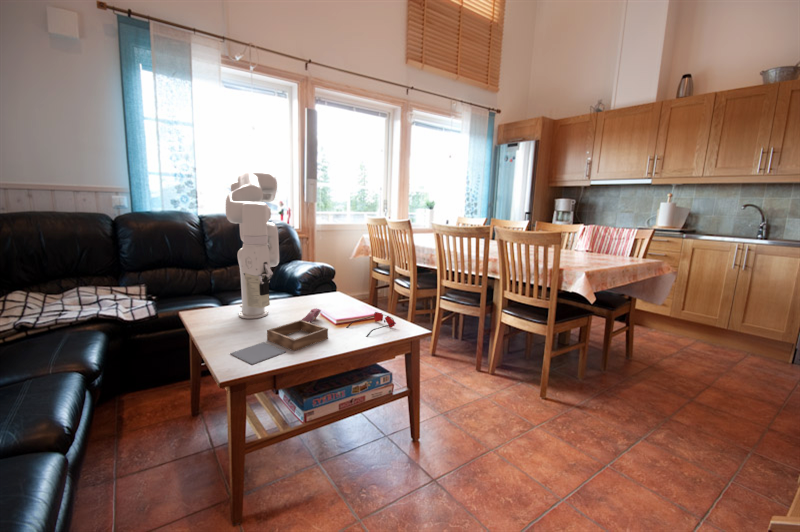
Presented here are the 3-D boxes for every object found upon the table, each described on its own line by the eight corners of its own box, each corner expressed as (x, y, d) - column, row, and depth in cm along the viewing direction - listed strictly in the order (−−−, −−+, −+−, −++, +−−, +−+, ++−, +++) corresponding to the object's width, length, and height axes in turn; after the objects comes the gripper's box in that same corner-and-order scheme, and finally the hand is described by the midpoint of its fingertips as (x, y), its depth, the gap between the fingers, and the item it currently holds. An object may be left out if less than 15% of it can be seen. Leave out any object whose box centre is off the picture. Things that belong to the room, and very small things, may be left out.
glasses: (396, 329, 156) (396, 317, 155) (366, 338, 144) (366, 326, 143) (375, 320, 166) (375, 310, 165) (345, 328, 154) (345, 317, 153)
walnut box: (267, 340, 138) (267, 330, 137) (301, 328, 151) (300, 319, 150) (294, 351, 129) (294, 340, 128) (327, 338, 142) (327, 328, 141)
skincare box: (270, 305, 125) (269, 270, 123) (261, 308, 121) (260, 273, 119) (254, 303, 127) (253, 269, 125) (245, 306, 123) (244, 271, 121)
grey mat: (230, 354, 125) (230, 353, 125) (263, 343, 135) (263, 342, 135) (252, 365, 117) (252, 363, 117) (285, 352, 128) (285, 351, 128)
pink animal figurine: (308, 328, 156) (314, 315, 154) (299, 323, 157) (305, 309, 155) (317, 321, 166) (324, 308, 164) (309, 316, 166) (315, 303, 164)
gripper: (230, 239, 122) (232, 290, 125) (261, 244, 112) (263, 299, 115) (250, 237, 128) (252, 286, 131) (281, 242, 118) (283, 295, 121)
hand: (257, 292), depth 123 cm, fingers closed on skincare box, 7 cm apart
